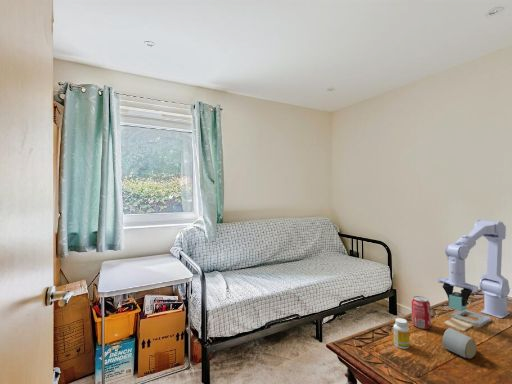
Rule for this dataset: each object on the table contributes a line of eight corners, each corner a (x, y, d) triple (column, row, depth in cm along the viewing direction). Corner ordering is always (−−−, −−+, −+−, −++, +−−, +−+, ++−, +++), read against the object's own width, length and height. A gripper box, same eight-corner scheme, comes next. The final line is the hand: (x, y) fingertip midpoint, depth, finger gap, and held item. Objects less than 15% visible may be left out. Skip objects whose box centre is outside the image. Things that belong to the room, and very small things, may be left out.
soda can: (425, 322, 123) (425, 295, 122) (434, 330, 116) (433, 302, 115) (409, 321, 123) (408, 295, 123) (416, 329, 116) (416, 301, 116)
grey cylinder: (467, 363, 94) (467, 340, 94) (441, 350, 101) (441, 330, 101) (482, 354, 99) (482, 333, 99) (457, 343, 106) (457, 323, 106)
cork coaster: (452, 318, 125) (452, 317, 125) (473, 326, 118) (473, 325, 118) (443, 323, 121) (443, 322, 121) (464, 331, 114) (464, 330, 114)
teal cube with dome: (454, 305, 123) (454, 290, 123) (466, 308, 119) (466, 293, 119) (449, 307, 120) (449, 292, 120) (461, 311, 116) (461, 296, 116)
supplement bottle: (390, 343, 107) (390, 319, 106) (399, 340, 109) (399, 315, 109) (403, 350, 102) (402, 324, 102) (412, 346, 104) (412, 321, 104)
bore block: (462, 311, 132) (462, 308, 132) (490, 320, 123) (490, 317, 123) (450, 317, 126) (450, 314, 126) (479, 327, 117) (479, 324, 117)
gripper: (434, 269, 124) (434, 299, 124) (472, 278, 111) (473, 311, 111) (442, 267, 127) (442, 296, 127) (480, 275, 115) (480, 307, 115)
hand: (457, 303), depth 120 cm, fingers closed on teal cube with dome, 5 cm apart
